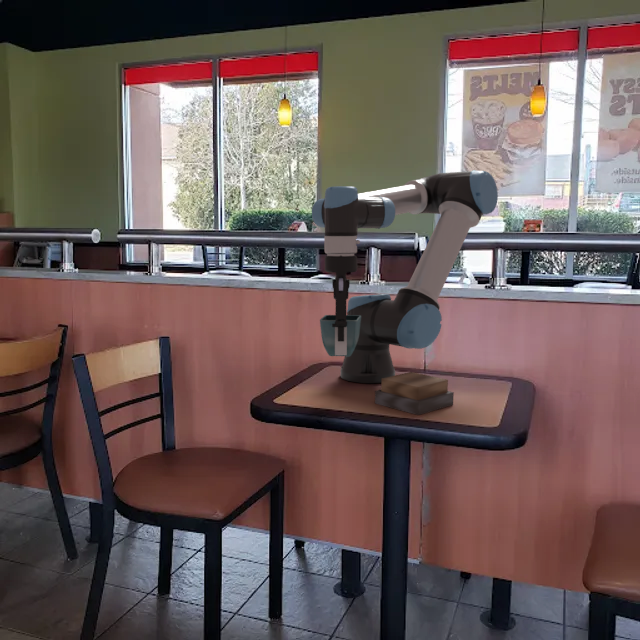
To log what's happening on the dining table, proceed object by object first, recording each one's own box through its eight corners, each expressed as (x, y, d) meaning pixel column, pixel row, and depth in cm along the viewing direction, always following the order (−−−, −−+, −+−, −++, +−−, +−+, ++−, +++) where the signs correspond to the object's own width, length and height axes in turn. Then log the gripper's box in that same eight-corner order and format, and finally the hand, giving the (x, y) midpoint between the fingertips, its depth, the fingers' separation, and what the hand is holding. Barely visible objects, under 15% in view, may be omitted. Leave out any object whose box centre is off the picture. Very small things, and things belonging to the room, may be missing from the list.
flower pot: (325, 350, 158) (325, 314, 157) (361, 351, 157) (361, 314, 155) (319, 358, 150) (319, 319, 148) (357, 359, 148) (357, 320, 147)
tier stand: (374, 403, 153) (375, 378, 153) (410, 394, 162) (410, 370, 161) (418, 415, 144) (419, 388, 143) (453, 404, 153) (454, 379, 152)
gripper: (358, 257, 139) (357, 360, 142) (356, 252, 160) (355, 342, 164) (323, 257, 139) (323, 360, 142) (325, 252, 160) (326, 342, 164)
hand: (340, 350), depth 153 cm, fingers closed on flower pot, 9 cm apart
